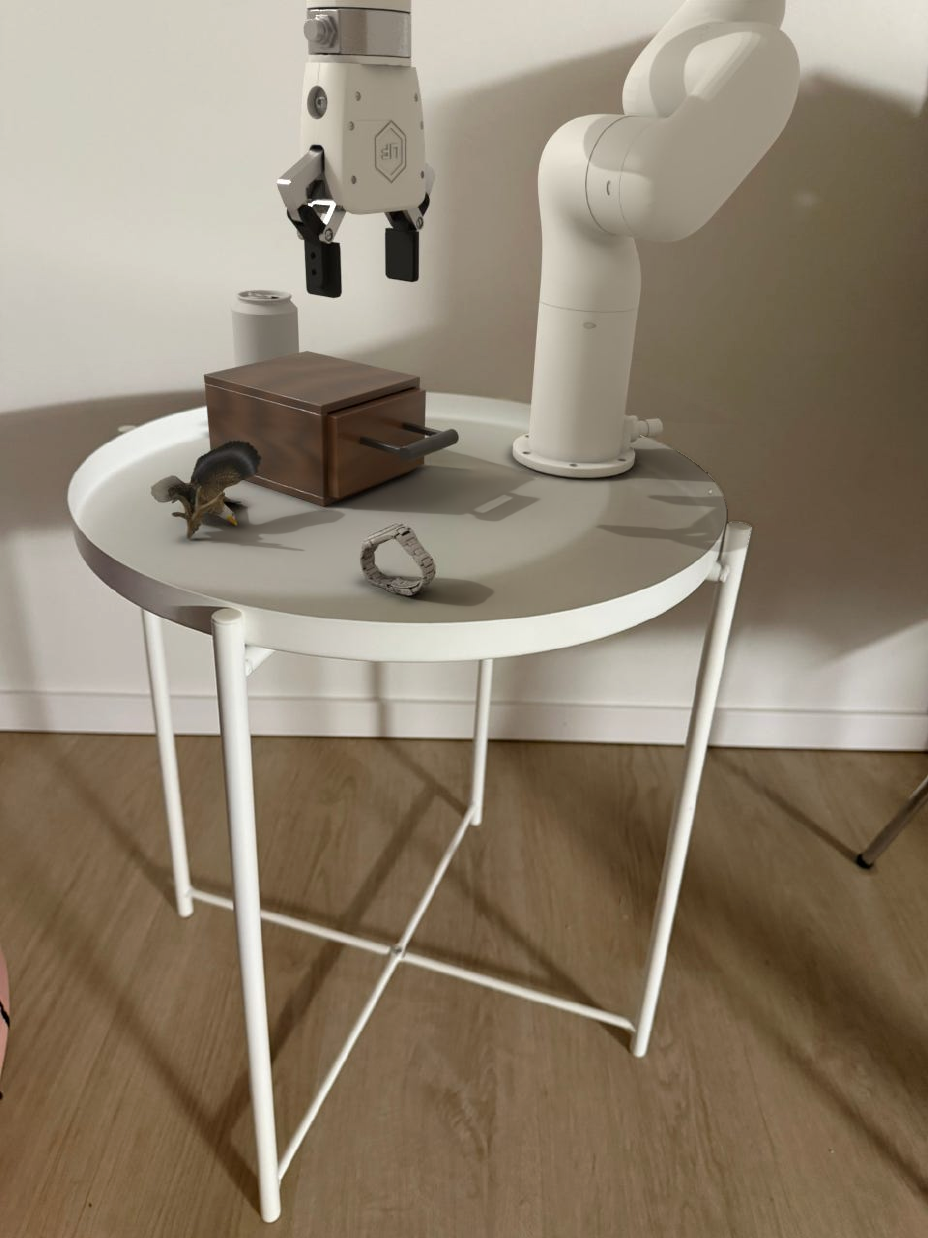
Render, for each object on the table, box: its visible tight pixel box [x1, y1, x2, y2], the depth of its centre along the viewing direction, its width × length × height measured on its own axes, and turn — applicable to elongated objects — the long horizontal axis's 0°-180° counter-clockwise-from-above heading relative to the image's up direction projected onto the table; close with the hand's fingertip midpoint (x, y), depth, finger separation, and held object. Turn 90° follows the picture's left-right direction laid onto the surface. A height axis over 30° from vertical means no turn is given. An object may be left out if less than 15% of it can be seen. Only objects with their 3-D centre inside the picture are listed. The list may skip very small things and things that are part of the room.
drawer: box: [326, 387, 460, 498], centre depth 89 cm, size 19×12×7 cm, turn 54°
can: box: [230, 289, 300, 368], centre depth 112 cm, size 8×8×12 cm
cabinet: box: [203, 350, 421, 507], centre depth 91 cm, size 15×14×9 cm
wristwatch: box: [359, 522, 436, 597], centre depth 70 cm, size 4×6×5 cm, turn 55°
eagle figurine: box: [150, 440, 261, 540], centre depth 79 cm, size 8×7×9 cm
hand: (364, 287), depth 78 cm, fingers open, 9 cm apart
